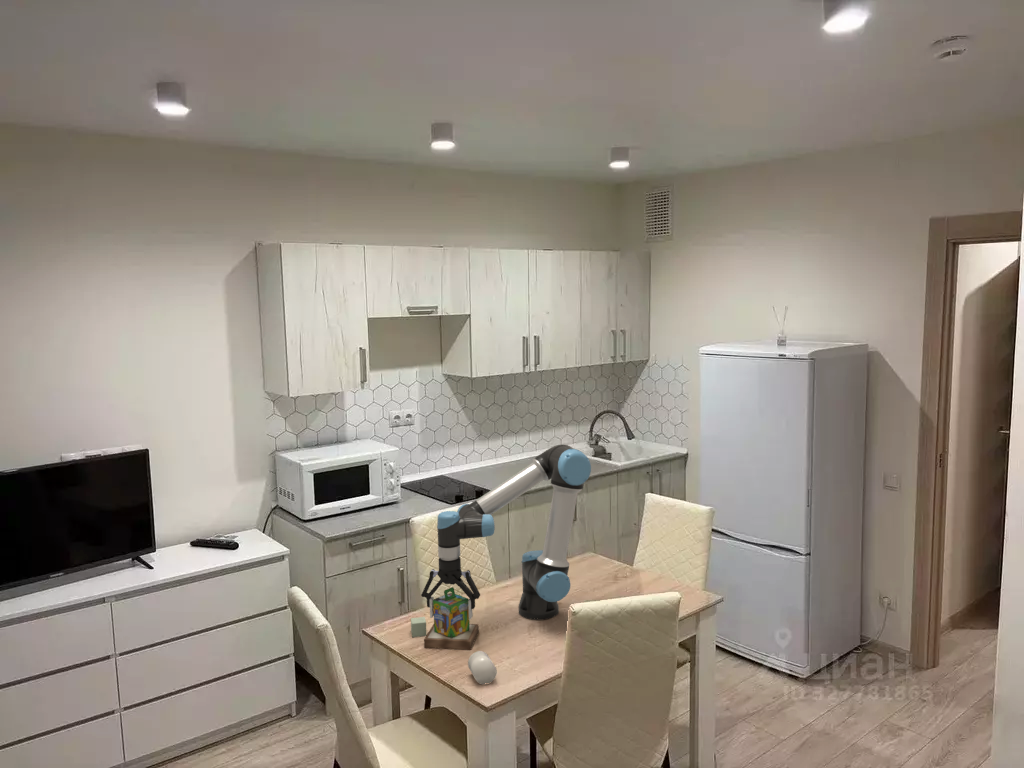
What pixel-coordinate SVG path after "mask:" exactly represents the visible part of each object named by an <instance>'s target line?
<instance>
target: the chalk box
mask: <svg viewBox="0 0 1024 768" xmlns="http://www.w3.org/2000/svg"><path fill="white" fill-rule="evenodd" d="M443 594H444V595H442V596H438V597H436V598H434V600H433V607H434V616H433V624H434V632H437V633H439V634H442V635H445V636H447V637H450V638H453V637H455V636H457V635H459V634H462V633H464V632H466V631H469V630H470V628H469V624H470V619H469V607H468V601H469V599H470V598H469V597H465V596H463V595H460V594H456V592H455V588H454V587H453V586H452V587H449V588H447V589H445V590H444V591H443Z"/></svg>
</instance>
